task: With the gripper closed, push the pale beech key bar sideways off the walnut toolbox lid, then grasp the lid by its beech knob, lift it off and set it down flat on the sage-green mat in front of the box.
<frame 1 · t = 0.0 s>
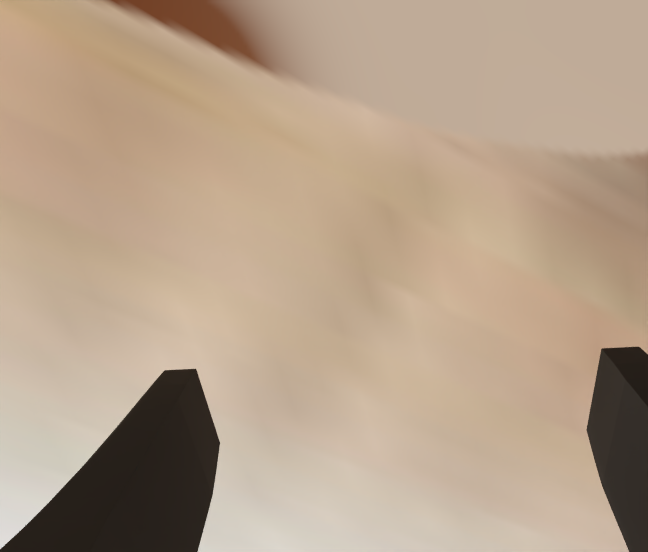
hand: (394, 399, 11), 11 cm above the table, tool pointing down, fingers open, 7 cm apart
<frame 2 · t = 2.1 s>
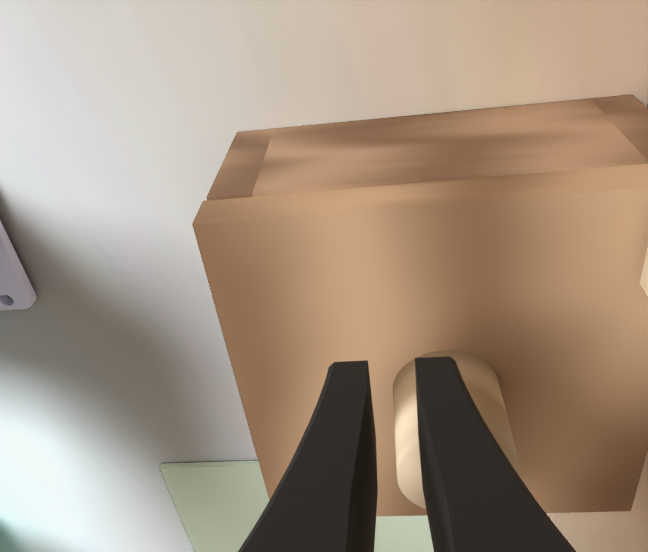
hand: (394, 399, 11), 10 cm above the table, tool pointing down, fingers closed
toolbox: (431, 274, 22), on the table
lid: (440, 360, 18), point 4 cm above the table, touching toolbox
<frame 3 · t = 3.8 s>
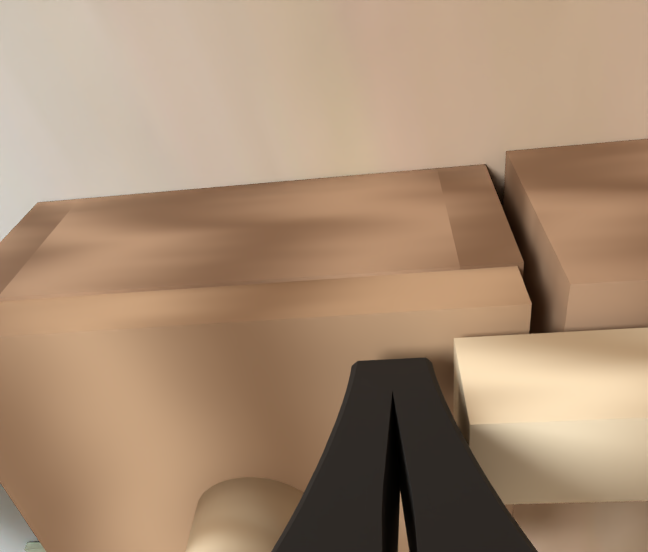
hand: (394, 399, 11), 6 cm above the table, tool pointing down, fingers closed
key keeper: (621, 205, 16), on the table
toolbox: (286, 354, 19), on the table
lid: (265, 475, 16), point 4 cm above the table, touching toolbox
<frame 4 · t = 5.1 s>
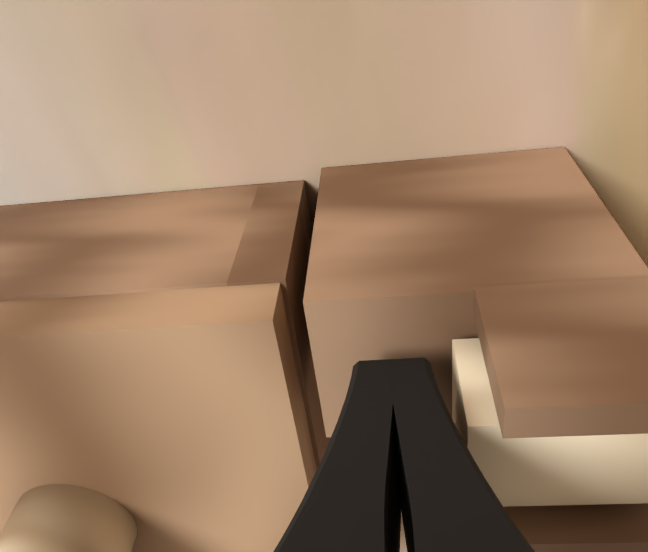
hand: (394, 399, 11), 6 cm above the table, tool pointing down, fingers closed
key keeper: (441, 220, 16), on the table
toolbox: (147, 362, 20), on the table
lid: (94, 480, 16), point 4 cm above the table, touching toolbox
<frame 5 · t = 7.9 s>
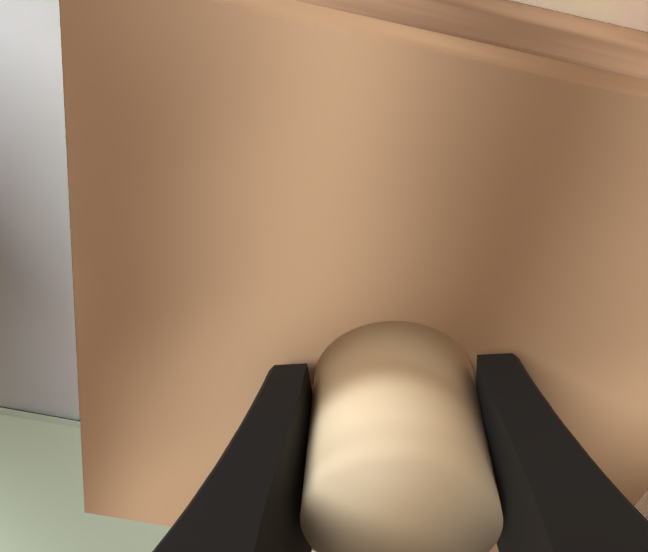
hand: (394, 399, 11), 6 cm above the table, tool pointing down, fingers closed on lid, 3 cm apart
toolbox: (385, 228, 16), on the table
lid: (390, 341, 12), point 5 cm above the table, touching gripper
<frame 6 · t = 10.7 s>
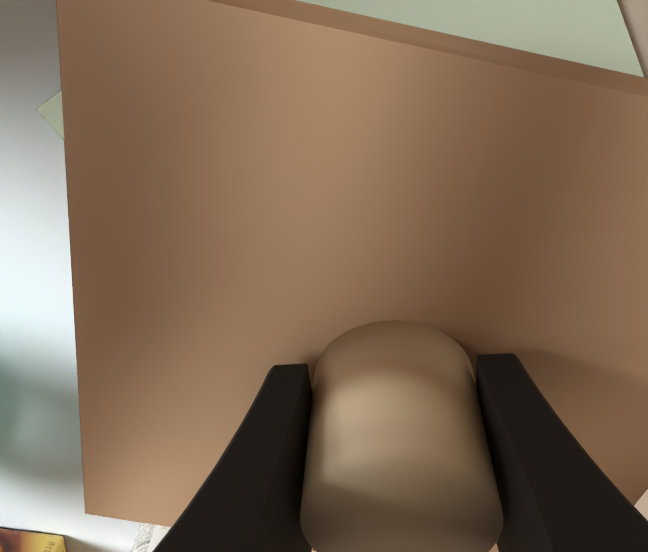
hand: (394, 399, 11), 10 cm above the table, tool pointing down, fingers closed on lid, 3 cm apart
mat: (385, 181, 20), on the table
sprinkles bottle: (212, 451, 29), on the table
lid: (390, 340, 12), point 9 cm above the table, touching gripper
when the fingers open (3 cm above the table, at t = 13.4 s): lid drops 1 cm, resting on mat.
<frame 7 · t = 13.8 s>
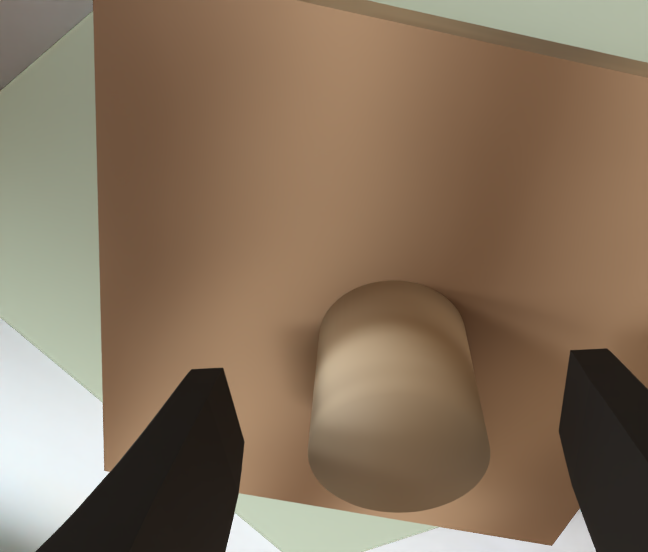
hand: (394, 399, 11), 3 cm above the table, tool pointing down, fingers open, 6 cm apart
mat: (388, 295, 14), on the table
lid: (389, 304, 13), resting on mat
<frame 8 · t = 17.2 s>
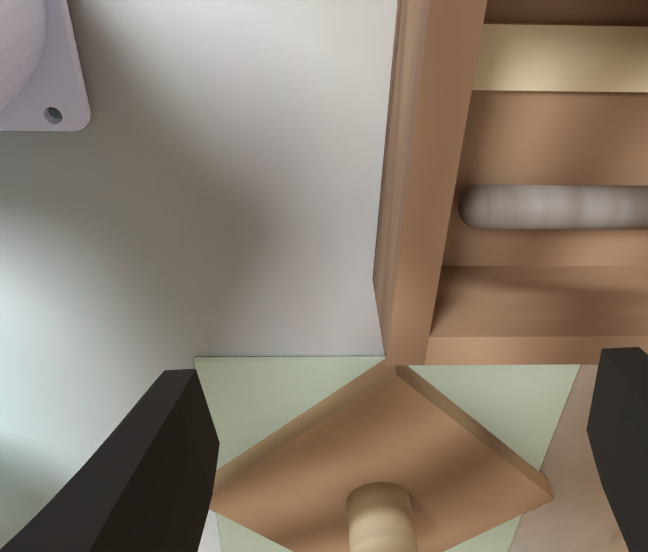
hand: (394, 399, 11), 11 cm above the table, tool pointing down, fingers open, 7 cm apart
mat: (375, 473, 30), on the table
toolbox: (573, 128, 19), on the table
lid: (375, 478, 30), resting on mat
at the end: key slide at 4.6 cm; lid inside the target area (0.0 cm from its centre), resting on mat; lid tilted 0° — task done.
